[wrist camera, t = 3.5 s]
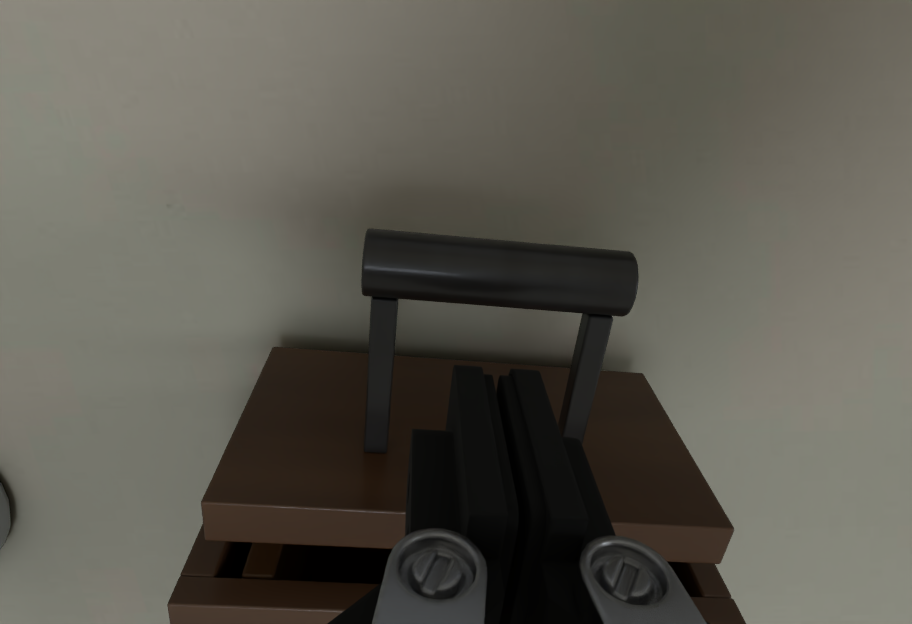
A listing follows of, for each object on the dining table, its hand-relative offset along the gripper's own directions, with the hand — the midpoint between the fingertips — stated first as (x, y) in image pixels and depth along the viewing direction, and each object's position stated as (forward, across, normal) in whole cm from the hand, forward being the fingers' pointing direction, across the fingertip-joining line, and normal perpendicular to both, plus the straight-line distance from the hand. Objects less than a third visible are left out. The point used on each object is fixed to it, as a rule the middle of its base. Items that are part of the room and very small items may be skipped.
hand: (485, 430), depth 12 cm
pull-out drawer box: (+8, 0, +7) cm, 11 cm away
